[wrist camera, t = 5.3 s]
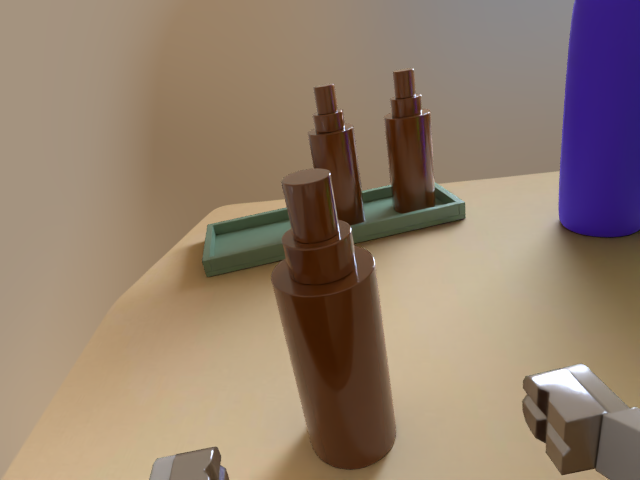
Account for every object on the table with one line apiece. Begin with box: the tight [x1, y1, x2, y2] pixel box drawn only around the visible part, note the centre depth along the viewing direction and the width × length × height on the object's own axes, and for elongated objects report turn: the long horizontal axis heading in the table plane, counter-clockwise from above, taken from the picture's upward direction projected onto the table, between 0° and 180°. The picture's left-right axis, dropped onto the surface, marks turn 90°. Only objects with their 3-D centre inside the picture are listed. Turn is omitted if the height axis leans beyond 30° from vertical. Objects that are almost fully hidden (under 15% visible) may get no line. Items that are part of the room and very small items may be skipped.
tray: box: [202, 182, 465, 277], centre depth 57 cm, size 32×12×2 cm, turn 100°
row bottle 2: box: [384, 68, 436, 214], centre depth 55 cm, size 6×6×17 cm
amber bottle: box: [271, 168, 396, 469], centre depth 25 cm, size 6×6×17 cm
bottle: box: [559, 0, 640, 237], centre depth 41 cm, size 8×8×30 cm
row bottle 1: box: [308, 83, 366, 225], centre depth 54 cm, size 6×6×17 cm
